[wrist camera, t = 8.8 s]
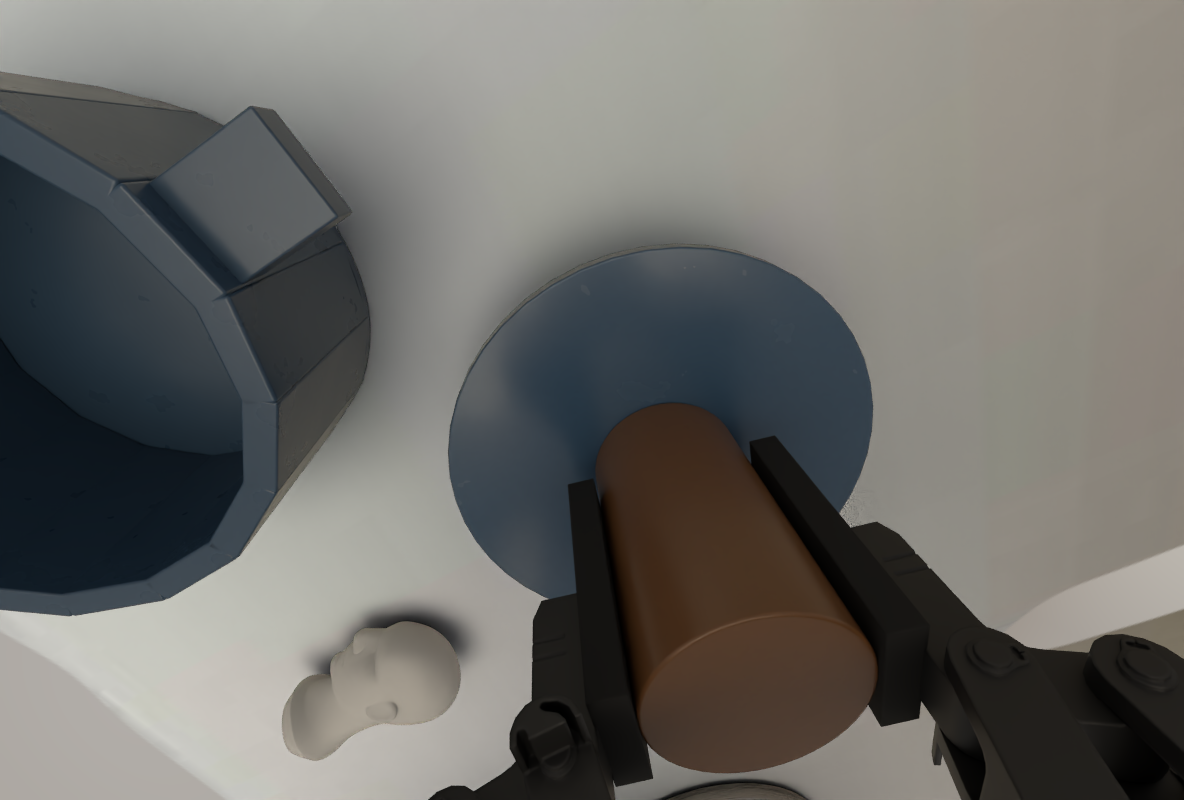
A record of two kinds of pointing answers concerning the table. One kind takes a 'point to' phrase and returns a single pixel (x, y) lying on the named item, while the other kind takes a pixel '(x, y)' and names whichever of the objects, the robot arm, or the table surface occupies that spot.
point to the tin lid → (681, 486)
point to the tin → (158, 339)
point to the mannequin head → (372, 688)
